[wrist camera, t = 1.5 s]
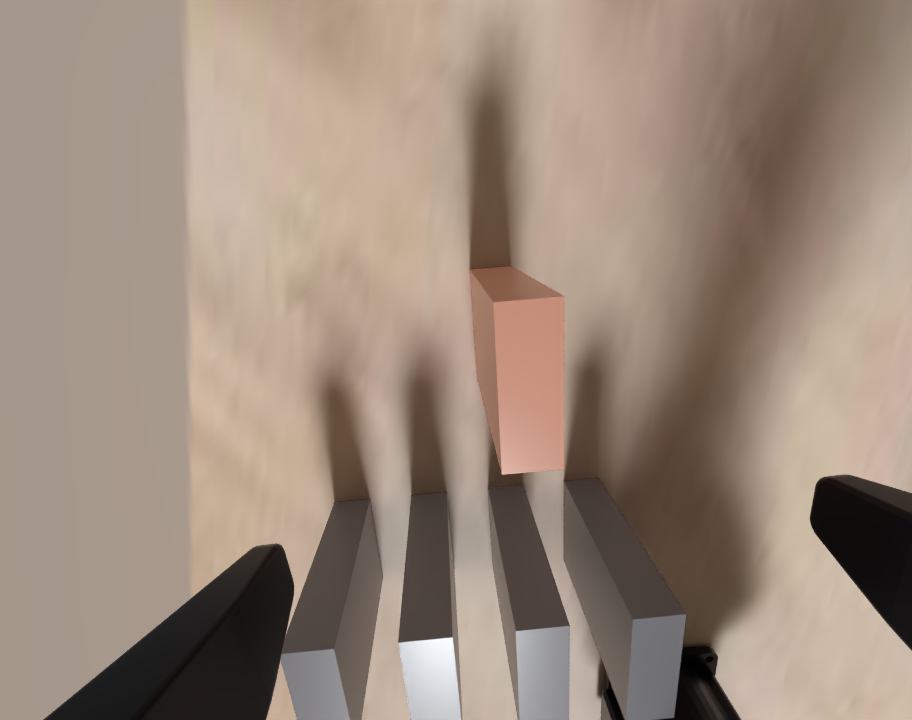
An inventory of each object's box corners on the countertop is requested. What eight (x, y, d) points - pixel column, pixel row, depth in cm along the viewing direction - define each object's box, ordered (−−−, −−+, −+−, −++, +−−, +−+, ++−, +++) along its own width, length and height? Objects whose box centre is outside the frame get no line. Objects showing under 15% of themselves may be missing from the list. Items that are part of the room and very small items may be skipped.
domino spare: (511, 266, 18) (564, 296, 11) (515, 374, 20) (563, 469, 12) (469, 269, 18) (493, 302, 11) (476, 378, 20) (501, 474, 12)
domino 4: (446, 491, 22) (452, 637, 14) (454, 570, 23) (463, 739, 16) (411, 495, 22) (398, 642, 14) (421, 573, 23) (414, 744, 16)
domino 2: (598, 477, 22) (686, 614, 14) (596, 556, 23) (674, 717, 16) (563, 481, 22) (632, 619, 14) (563, 559, 23) (625, 722, 16)
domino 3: (522, 484, 22) (569, 625, 14) (525, 563, 23) (568, 728, 16) (487, 487, 22) (515, 631, 14) (492, 566, 23) (520, 733, 16)
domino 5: (370, 498, 22) (334, 649, 14) (382, 576, 23) (356, 750, 16) (334, 502, 22) (278, 654, 14) (349, 579, 23) (307, 755, 15)
